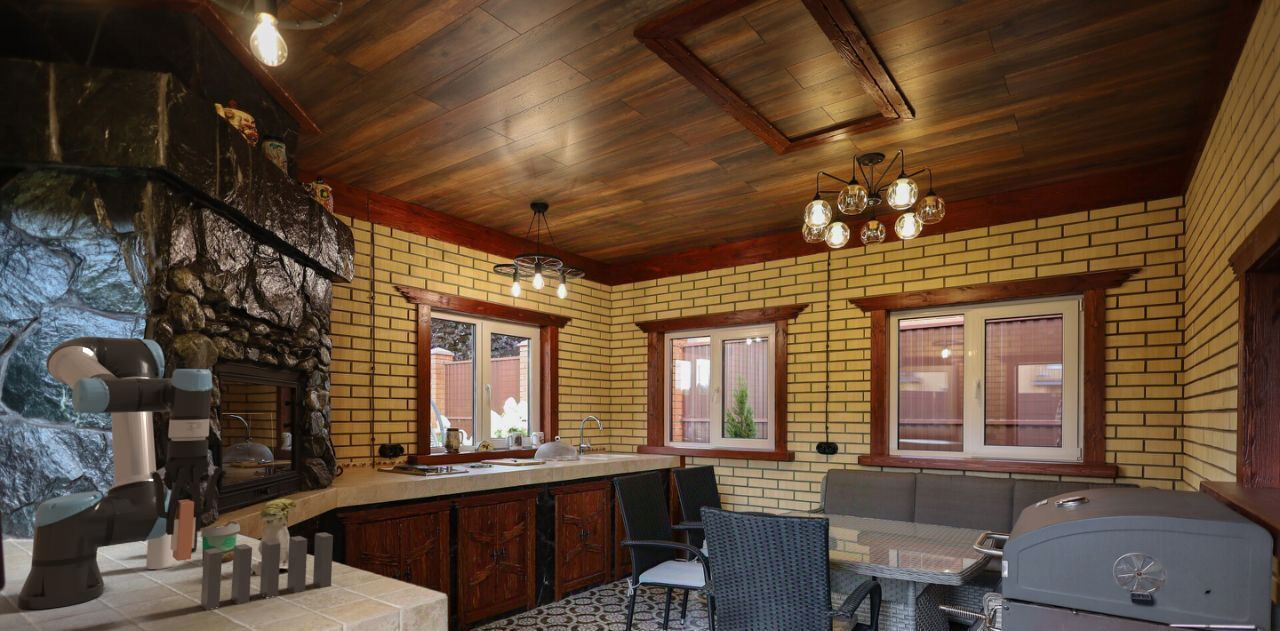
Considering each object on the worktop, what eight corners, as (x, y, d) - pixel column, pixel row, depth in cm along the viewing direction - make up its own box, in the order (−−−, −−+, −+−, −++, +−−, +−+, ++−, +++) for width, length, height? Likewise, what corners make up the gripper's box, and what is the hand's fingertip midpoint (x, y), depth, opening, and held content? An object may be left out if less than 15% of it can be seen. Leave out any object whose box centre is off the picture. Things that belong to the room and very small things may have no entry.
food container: (221, 567, 187) (223, 529, 188) (198, 567, 187) (201, 529, 188) (248, 555, 200) (249, 520, 200) (226, 555, 200) (228, 520, 201)
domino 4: (266, 598, 159) (269, 545, 161) (259, 593, 163) (262, 541, 164) (278, 596, 161) (280, 543, 162) (270, 591, 165) (273, 539, 166)
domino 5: (294, 593, 164) (296, 540, 165) (287, 588, 167) (289, 537, 168) (305, 591, 165) (307, 539, 166) (297, 586, 169) (299, 536, 170)
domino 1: (177, 560, 148) (181, 503, 149) (172, 556, 152) (175, 500, 153) (190, 558, 150) (194, 502, 151) (185, 554, 153) (188, 499, 155)
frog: (309, 569, 185) (312, 499, 186) (255, 578, 176) (259, 504, 178) (297, 560, 194) (300, 494, 196) (245, 568, 185) (249, 499, 187)
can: (180, 564, 190) (183, 519, 191) (162, 570, 184) (165, 524, 185) (158, 563, 191) (161, 519, 192) (139, 570, 184) (142, 523, 186)
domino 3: (237, 604, 155) (240, 549, 156) (231, 599, 159) (234, 545, 160) (249, 602, 157) (252, 547, 158) (242, 597, 161) (245, 543, 162)
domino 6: (320, 587, 168) (322, 537, 169) (313, 583, 171) (315, 533, 173) (331, 585, 169) (333, 535, 171) (323, 581, 173) (325, 532, 174)
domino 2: (206, 610, 151) (209, 553, 152) (200, 605, 155) (204, 549, 156) (219, 608, 153) (222, 552, 154) (213, 602, 156) (216, 548, 158)
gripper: (149, 441, 145) (142, 557, 143) (232, 437, 156) (227, 545, 154) (143, 440, 151) (135, 551, 148) (223, 436, 161) (218, 540, 159)
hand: (182, 548), depth 151 cm, fingers closed on domino 1, 2 cm apart
